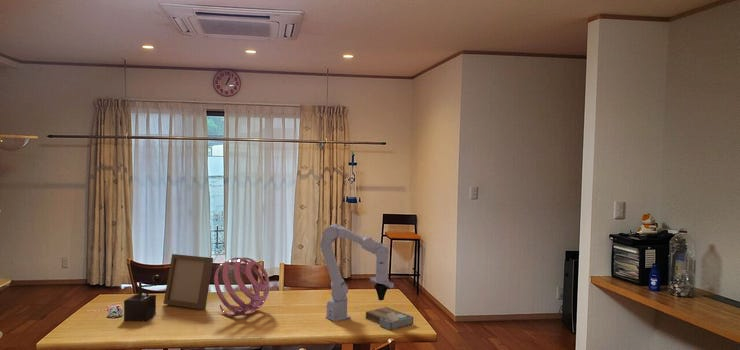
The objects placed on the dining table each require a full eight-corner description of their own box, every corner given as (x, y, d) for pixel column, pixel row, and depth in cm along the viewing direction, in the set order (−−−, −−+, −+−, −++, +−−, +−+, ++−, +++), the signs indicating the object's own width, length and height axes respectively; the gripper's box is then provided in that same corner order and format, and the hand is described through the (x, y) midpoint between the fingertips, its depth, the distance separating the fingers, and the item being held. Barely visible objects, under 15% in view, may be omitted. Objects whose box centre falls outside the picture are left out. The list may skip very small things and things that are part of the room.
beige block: (389, 325, 217) (392, 321, 216) (384, 317, 220) (386, 313, 218) (397, 323, 220) (399, 319, 219) (391, 315, 223) (393, 311, 222)
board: (382, 325, 219) (382, 318, 219) (365, 318, 228) (365, 311, 228) (403, 319, 227) (403, 313, 227) (386, 313, 237) (386, 307, 236)
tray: (390, 330, 212) (390, 322, 212) (379, 326, 217) (379, 318, 217) (413, 324, 221) (413, 316, 221) (402, 320, 226) (402, 312, 226)
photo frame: (199, 310, 233) (200, 259, 233) (163, 305, 240) (164, 255, 240) (218, 302, 247) (219, 254, 247) (183, 298, 254) (184, 251, 254)
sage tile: (400, 323, 220) (400, 318, 220) (393, 320, 223) (393, 315, 223) (407, 321, 223) (407, 316, 222) (400, 319, 226) (400, 313, 226)
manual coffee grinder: (147, 321, 217) (148, 282, 216) (123, 321, 217) (123, 281, 216) (162, 311, 232) (162, 273, 232) (139, 310, 232) (139, 273, 232)
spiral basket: (190, 272, 229) (231, 244, 221) (231, 275, 253) (270, 249, 246) (205, 328, 217) (249, 300, 210) (247, 325, 241) (288, 300, 234)
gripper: (398, 272, 221) (398, 302, 222) (378, 267, 232) (377, 294, 233) (387, 274, 217) (386, 304, 217) (366, 268, 228) (366, 297, 228)
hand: (381, 299), depth 225 cm, fingers closed
